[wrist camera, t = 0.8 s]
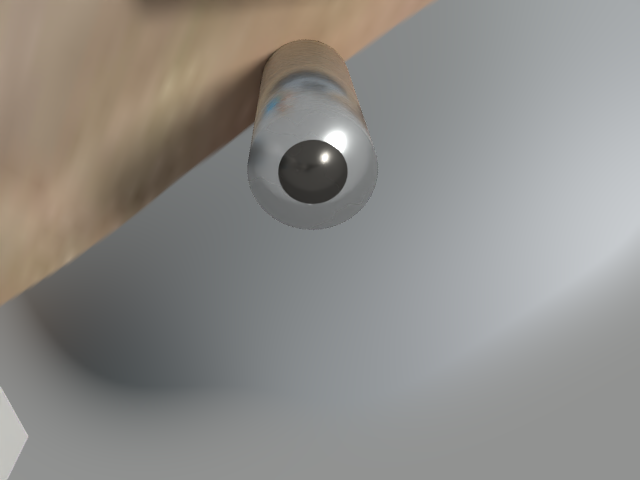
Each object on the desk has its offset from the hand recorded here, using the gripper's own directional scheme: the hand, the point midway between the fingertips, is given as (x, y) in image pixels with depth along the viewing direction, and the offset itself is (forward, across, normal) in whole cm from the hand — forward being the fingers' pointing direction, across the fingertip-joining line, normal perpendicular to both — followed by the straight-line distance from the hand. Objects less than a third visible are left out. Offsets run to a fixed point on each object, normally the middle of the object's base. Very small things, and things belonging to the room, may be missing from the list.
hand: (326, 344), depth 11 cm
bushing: (+21, 0, -1) cm, 21 cm away
